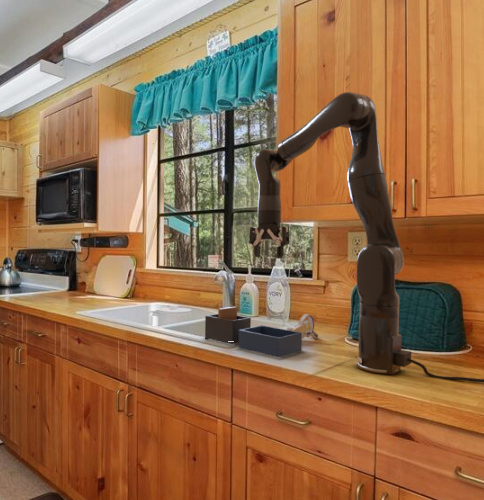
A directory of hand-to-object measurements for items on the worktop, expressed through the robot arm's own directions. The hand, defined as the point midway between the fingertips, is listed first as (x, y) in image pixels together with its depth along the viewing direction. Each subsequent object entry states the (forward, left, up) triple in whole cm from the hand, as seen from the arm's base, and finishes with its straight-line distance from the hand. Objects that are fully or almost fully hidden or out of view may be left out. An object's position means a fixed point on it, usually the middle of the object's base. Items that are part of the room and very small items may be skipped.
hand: (268, 257), depth 147 cm
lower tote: (-9, +12, -28) cm, 32 cm away
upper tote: (+8, +11, -28) cm, 31 cm away
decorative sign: (-9, -7, -28) cm, 31 cm away
